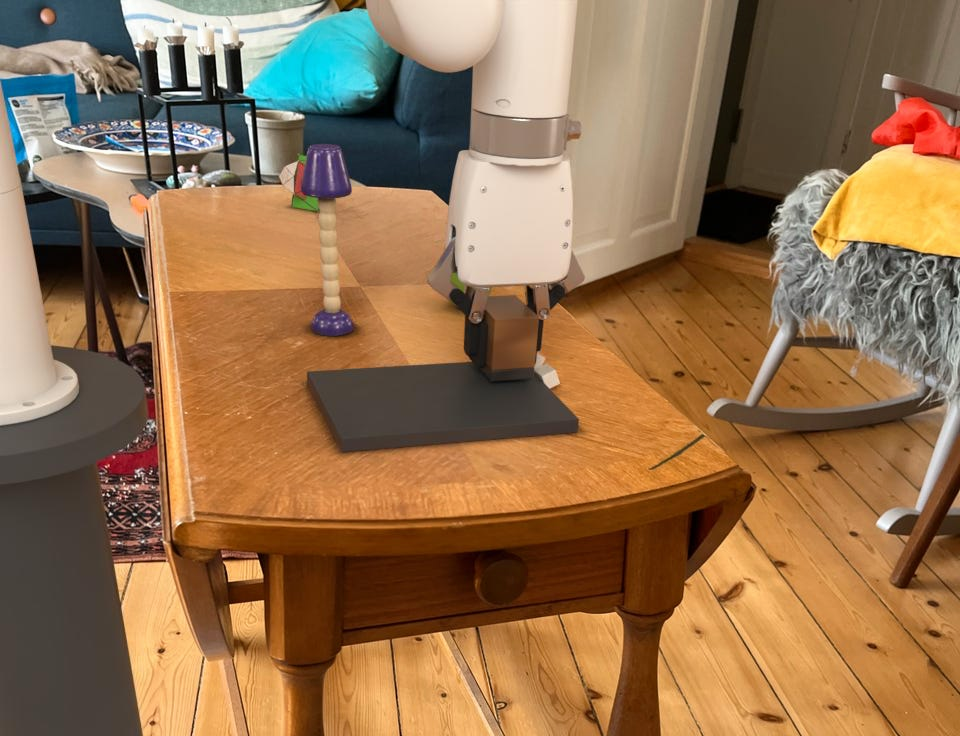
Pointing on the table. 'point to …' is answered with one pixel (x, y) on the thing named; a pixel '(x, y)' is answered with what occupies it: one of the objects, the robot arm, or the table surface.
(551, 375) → the chalk piece
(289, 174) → the geometric puzzle
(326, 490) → the table surface
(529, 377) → the eraser
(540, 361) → the chalk piece
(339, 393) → the board
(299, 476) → the table surface
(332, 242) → the toy lamp
